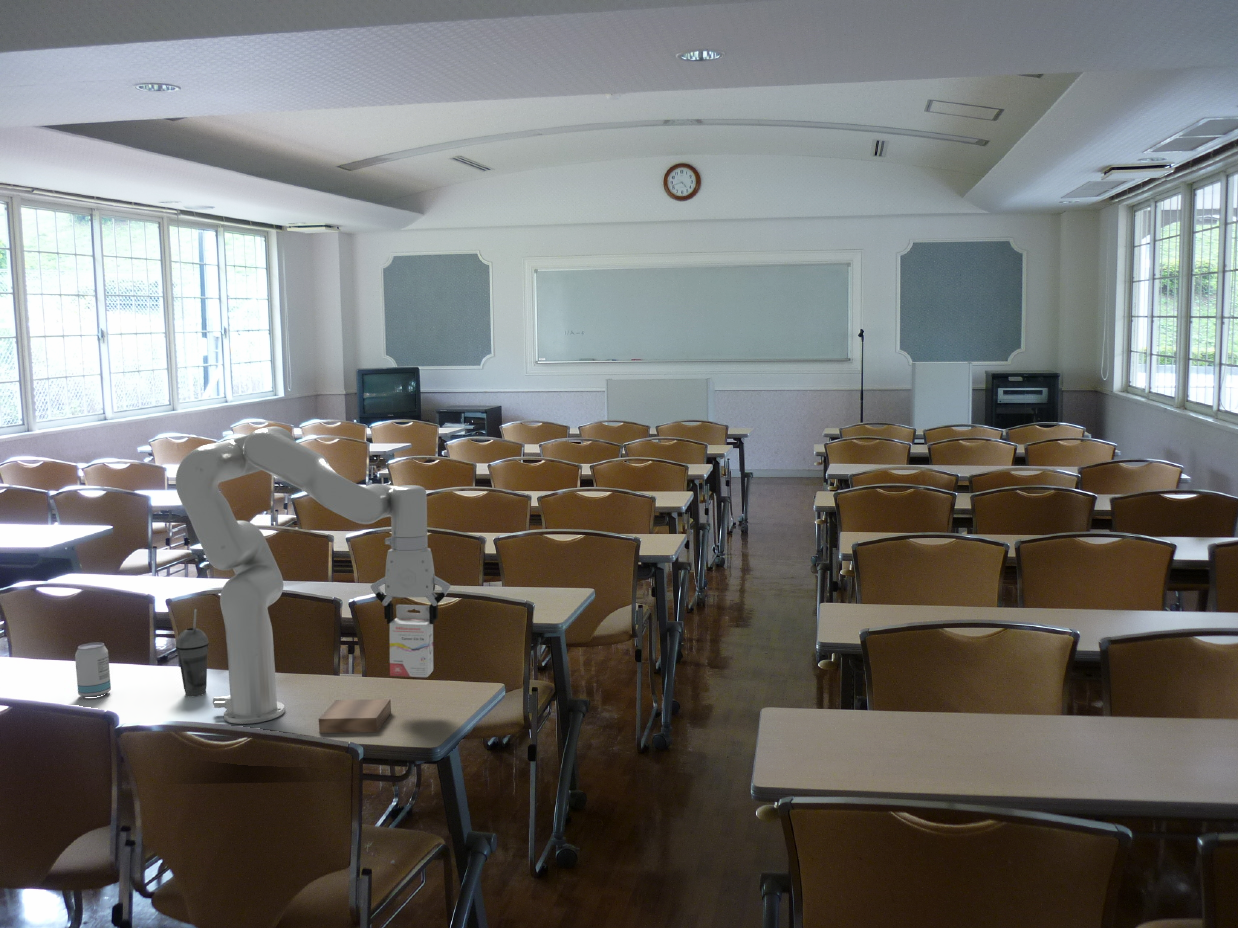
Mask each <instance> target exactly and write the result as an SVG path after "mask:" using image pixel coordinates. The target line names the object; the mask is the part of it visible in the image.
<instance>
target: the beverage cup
mask: <svg viewBox="0 0 1238 928" xmlns="http://www.w3.org/2000/svg"><path fill="white" fill-rule="evenodd" d="M197 610H198V609H196V608H194V611H193V623H192V625H193V627H190V628H186V629H184V630H183V631H182V632H180V634H179V635H178V636H177V640H176V641H175V642H176V644H175V645H176V646H175V649H176V654H177V656H178V660H179V665H180V673H181V678H182V683H183V689H184V693H185V694H184V695H185V696H186V697H188V696H194V697H199V695H200V696H203V695H205V694H206V693H207V684H208V681H207V680H208V679H207V678H208V677H207V676H208V653H209V644H210V643H209V639H208V636H207V634H206V633H205V632H204V631H203V630H201V629H200V628H197V626H196V625H197V624H196V623H197ZM202 694H203V695H202Z"/></svg>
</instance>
